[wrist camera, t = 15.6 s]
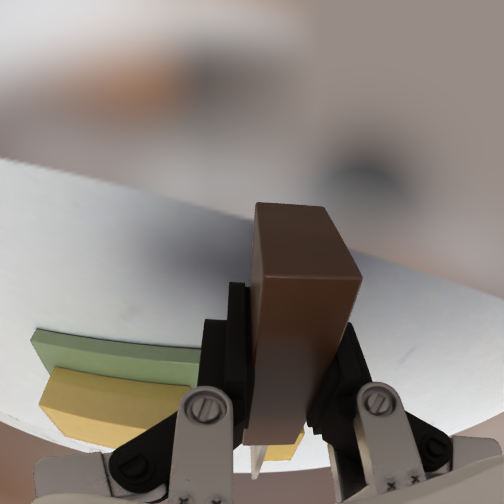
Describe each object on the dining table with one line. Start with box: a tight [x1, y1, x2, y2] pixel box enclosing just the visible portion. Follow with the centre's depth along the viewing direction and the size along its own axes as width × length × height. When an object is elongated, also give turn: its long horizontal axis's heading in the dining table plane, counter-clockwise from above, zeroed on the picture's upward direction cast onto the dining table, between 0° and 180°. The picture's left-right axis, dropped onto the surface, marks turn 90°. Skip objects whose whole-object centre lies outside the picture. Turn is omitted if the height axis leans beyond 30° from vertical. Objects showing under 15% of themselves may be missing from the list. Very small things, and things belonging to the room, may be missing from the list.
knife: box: [242, 202, 362, 479], centre depth 11 cm, size 15×2×4 cm, turn 176°
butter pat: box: [263, 426, 305, 461], centre depth 15 cm, size 4×2×3 cm, turn 176°
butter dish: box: [30, 329, 201, 449], centre depth 15 cm, size 8×16×4 cm, turn 86°
